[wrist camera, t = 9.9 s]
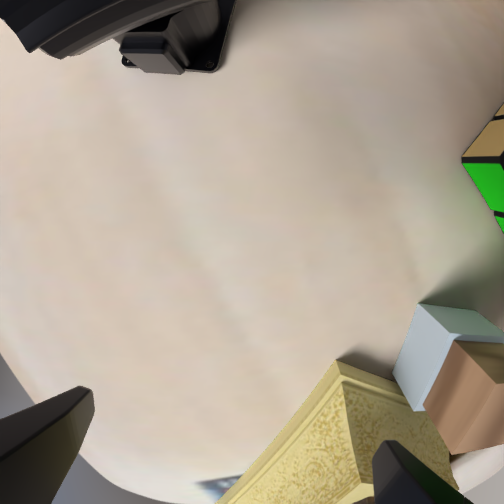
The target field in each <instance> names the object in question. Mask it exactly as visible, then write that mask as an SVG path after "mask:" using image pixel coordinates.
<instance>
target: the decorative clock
mask: <svg viewBox="0 0 504 504" xmlns="http://www.w3.org/2000/svg"><path fill="white" fill-rule="evenodd" d="M384 440H397V441H398V442H399V443H400V444H401V445H403V446H404V447H405V448H406V449H407V450H408V451H410V452H411V453H412V454H413V455H414V456H416V457H417V458H418V459H419V460H420V461H421V462H423V463H424V464H425V465H426V466H428V467H429V468H430V469H431V470H432V471H434V472H435V473H436V474H437V475H438V476H440V477H441V478H442V479H443V480H445V481H446V482H447V483H448V484H450V485H451V486H452V487H453V488H455V489H456V490H457V491H458V490H459V487H458V485H457V483H456V481H455V479H454V477H453V474H452V470H451V466H450V463H449V449H448V448H447V446H446V444H445V442H444V441H443V439H442V437H441V435H440V434H439V432H438V430H437V429H436V427H435V425H434V423H433V422H432V420H431V418H430V417H429V415H428V413H427V412H426V411H413V409H412V408H411V406H410V404H409V402H408V400H407V399H406V397H405V395H404V393H403V392H402V390H401V388H400V386H399V385H398V383H395V382H393V381H390V380H387V379H384V378H382V377H379V376H376V375H374V374H371V373H368V372H366V371H363V370H360V369H358V368H355V367H353V366H350V365H347V364H345V363H342V362H340V361H337V360H335V361H334V362H333V364H332V365H331V367H330V368H329V370H328V371H327V372H326V374H325V375H324V377H323V378H322V379H321V381H320V382H319V383H318V385H317V386H316V387H315V389H314V390H313V391H312V393H311V394H310V395H309V397H308V398H307V399H306V401H305V402H304V403H303V405H302V406H301V407H300V408H299V410H298V411H297V412H296V414H295V415H294V416H293V417H292V419H291V420H290V421H289V422H288V424H287V425H286V426H285V427H284V428H283V430H282V431H281V432H280V433H279V434H278V436H277V437H276V438H275V439H274V440H273V442H272V443H271V444H270V445H269V446H268V447H267V449H266V450H265V451H264V452H263V453H262V454H261V455H260V457H259V458H258V459H257V460H256V461H255V462H254V463H253V464H252V465H251V467H250V468H249V469H248V470H247V471H246V472H245V473H244V474H243V475H242V476H241V477H240V478H239V480H238V481H237V482H236V483H235V484H234V485H233V486H232V487H231V488H230V489H229V490H228V491H227V492H226V493H225V494H224V495H223V496H222V497H221V498H220V499H219V500H218V501H217V502H216V503H215V504H375V501H374V489H373V473H372V458H373V455H374V454H375V452H376V451H377V449H378V447H379V446H380V444H381V443H382V442H383V441H384Z"/></svg>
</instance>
